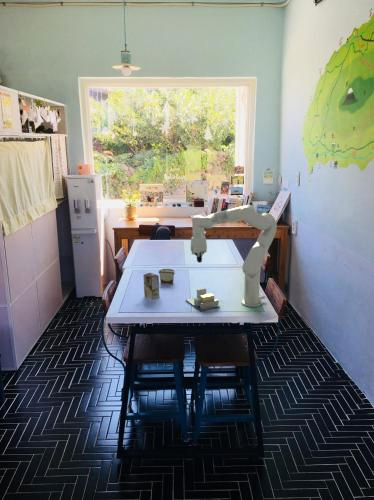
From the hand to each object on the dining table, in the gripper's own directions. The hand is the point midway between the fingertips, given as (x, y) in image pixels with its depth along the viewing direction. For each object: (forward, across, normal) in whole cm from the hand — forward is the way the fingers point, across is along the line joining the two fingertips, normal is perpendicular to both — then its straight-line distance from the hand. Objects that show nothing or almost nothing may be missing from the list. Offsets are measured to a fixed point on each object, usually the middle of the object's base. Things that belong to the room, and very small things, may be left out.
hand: (199, 261), depth 272 cm
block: (+24, +4, +16) cm, 30 cm away
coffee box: (+25, +28, -17) cm, 41 cm away
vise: (+25, +4, +10) cm, 28 cm away
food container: (+25, +6, -38) cm, 46 cm away
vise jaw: (+24, +4, +11) cm, 27 cm away
